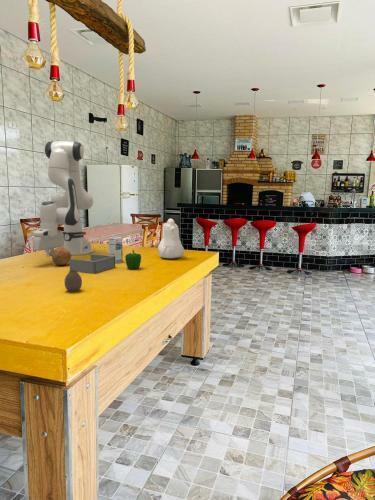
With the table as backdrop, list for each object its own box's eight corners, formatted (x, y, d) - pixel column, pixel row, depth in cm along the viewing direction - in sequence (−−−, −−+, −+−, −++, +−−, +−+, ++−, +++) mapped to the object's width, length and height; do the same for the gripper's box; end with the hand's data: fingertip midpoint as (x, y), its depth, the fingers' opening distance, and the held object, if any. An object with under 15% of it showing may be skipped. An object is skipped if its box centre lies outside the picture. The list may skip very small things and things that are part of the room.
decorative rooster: (184, 260, 231) (185, 219, 227) (158, 260, 230) (158, 219, 226) (181, 254, 256) (182, 216, 252) (157, 253, 254) (158, 216, 251)
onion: (74, 263, 215) (73, 246, 213) (66, 267, 205) (66, 248, 204) (57, 263, 216) (56, 245, 214) (49, 266, 206) (48, 248, 204)
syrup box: (115, 263, 219) (115, 238, 217) (108, 262, 222) (108, 237, 220) (122, 262, 223) (122, 237, 221) (115, 260, 227) (115, 236, 225)
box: (91, 264, 214) (91, 253, 213) (115, 267, 208) (115, 256, 207) (69, 270, 197) (69, 259, 196) (94, 273, 191) (94, 261, 190)
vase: (75, 287, 164) (75, 267, 162) (85, 290, 159) (85, 269, 158) (61, 290, 158) (60, 269, 157) (71, 293, 154) (70, 272, 153)
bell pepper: (138, 270, 201) (138, 251, 199) (123, 269, 202) (123, 250, 201) (143, 267, 209) (143, 249, 207) (128, 266, 211) (128, 248, 209)
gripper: (57, 229, 221) (58, 253, 223) (30, 232, 203) (31, 258, 205) (66, 230, 219) (67, 254, 221) (39, 233, 200) (40, 259, 202)
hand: (49, 256), depth 213 cm, fingers closed
